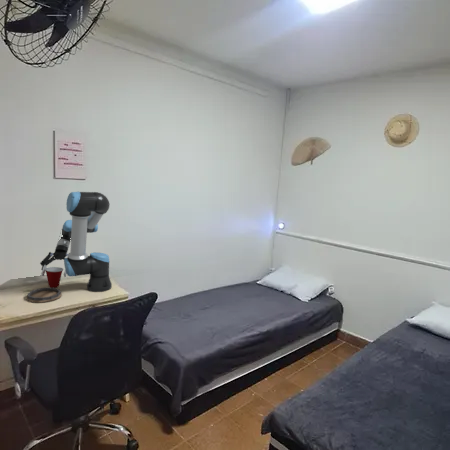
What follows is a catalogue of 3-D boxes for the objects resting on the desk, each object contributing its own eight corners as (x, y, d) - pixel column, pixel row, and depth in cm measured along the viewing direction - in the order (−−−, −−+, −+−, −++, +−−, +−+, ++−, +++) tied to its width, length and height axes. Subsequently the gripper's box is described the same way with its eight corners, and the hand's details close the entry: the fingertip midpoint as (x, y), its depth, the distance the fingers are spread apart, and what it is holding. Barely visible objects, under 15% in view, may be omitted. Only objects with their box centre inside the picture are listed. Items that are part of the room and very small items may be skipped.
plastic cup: (66, 286, 216) (66, 269, 214) (49, 290, 208) (48, 272, 206) (59, 282, 223) (59, 265, 221) (42, 285, 215) (42, 267, 213)
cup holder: (66, 291, 207) (66, 287, 207) (54, 303, 189) (54, 299, 189) (35, 290, 205) (35, 286, 205) (20, 302, 187) (20, 298, 187)
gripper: (82, 250, 228) (75, 278, 216) (44, 249, 226) (35, 277, 214) (80, 245, 222) (72, 273, 210) (41, 243, 220) (30, 271, 207)
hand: (53, 275), depth 212 cm, fingers open, 13 cm apart
